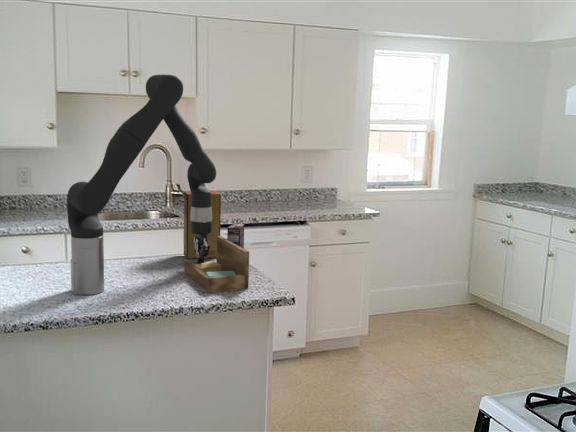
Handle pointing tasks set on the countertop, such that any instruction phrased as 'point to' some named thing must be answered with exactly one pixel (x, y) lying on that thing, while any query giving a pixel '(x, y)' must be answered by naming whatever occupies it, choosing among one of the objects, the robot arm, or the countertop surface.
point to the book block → (220, 273)
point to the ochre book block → (209, 267)
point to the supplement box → (236, 234)
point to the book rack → (224, 268)
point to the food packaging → (211, 236)
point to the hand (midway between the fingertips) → (200, 267)
